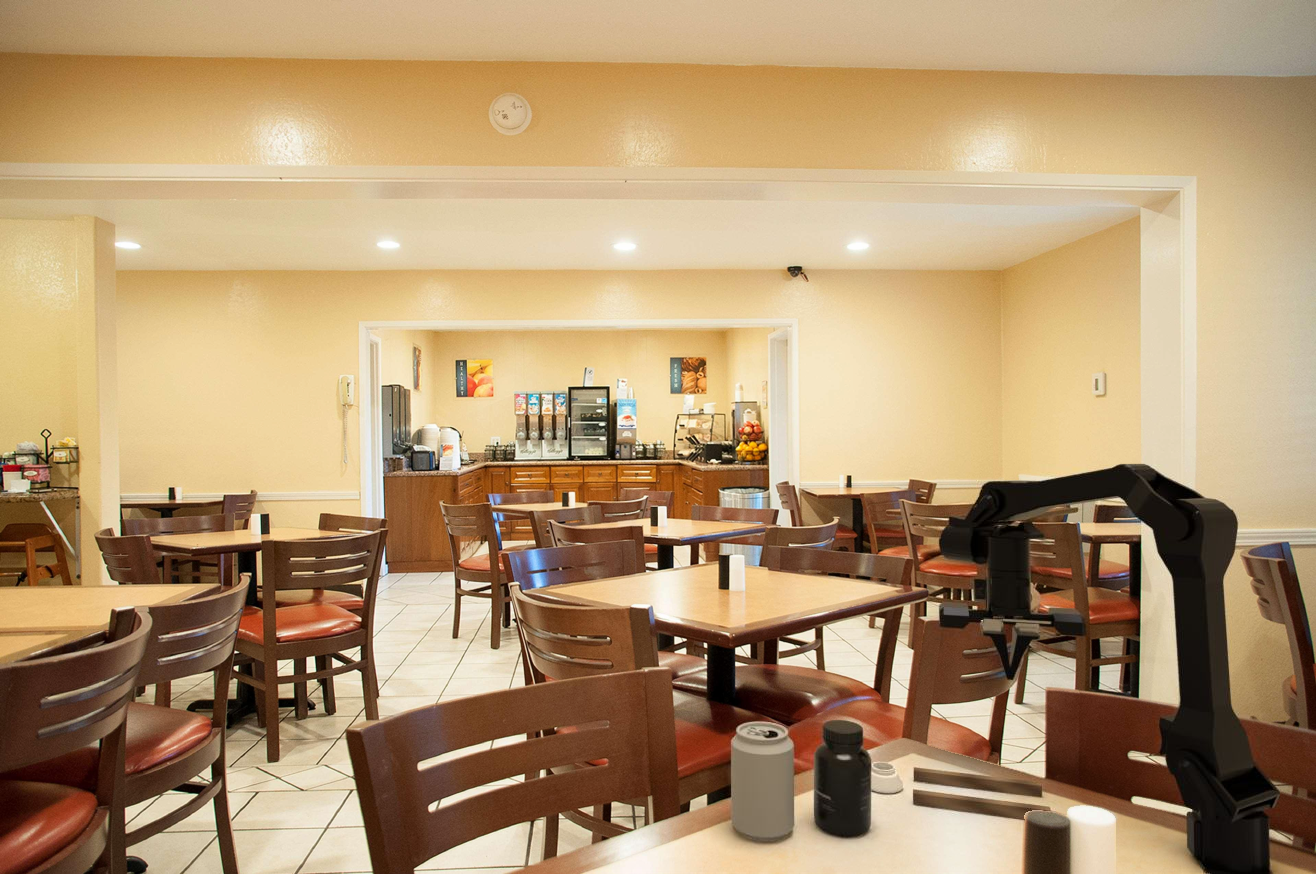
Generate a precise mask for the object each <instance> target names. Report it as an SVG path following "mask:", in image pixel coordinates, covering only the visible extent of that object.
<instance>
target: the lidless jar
mask: <svg viewBox="0 0 1316 874" xmlns="http://www.w3.org/2000/svg"><path fill="white" fill-rule="evenodd" d="M871 764H872V767H871V791H872V792H876V793H879V794H885V795H886V794H895V793H898V792H900V791H902V790H903V789H904V788H903V785H904V783H903V782H902V779H901V777H900V775H899V773H898V772H897V770H896V767H895V765H894V764H892V763H889V762H887V761H875V762H873V763H872V762H871Z"/></svg>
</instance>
